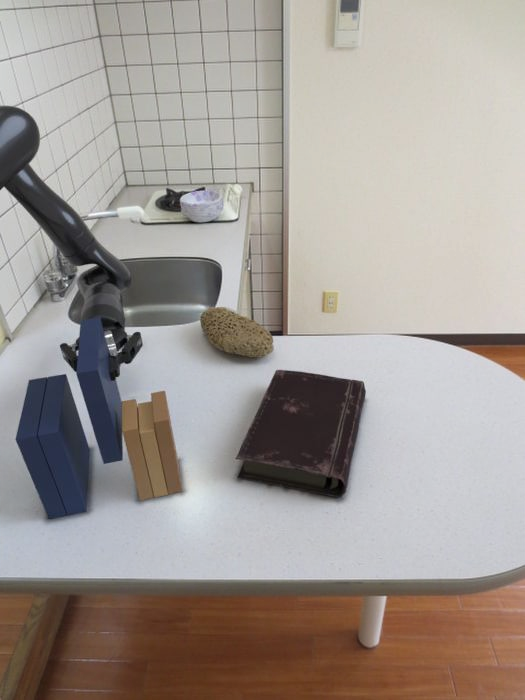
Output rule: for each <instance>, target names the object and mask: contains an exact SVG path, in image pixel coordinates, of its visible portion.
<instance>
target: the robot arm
mask: <svg viewBox="0 0 525 700" xmlns="http://www.w3.org/2000/svg"><path fill="white" fill-rule="evenodd" d="M40 145H41V133H40V129H39V125H38V124H37V121H36V120H35V119H34V117H33V116H32V115H31V114H30V113H29V112H27V111H26V110H24V109H22V108H20V107H18V106H13V105H1V104H0V191H1V190H3V188H5V190H6V191H7V192H8V193H9V194H10V195H11V196H12V197H13V198H14V199H15V200H16V201H17V202H18V203H19V204H20V205H21V207H22V208H24V210H25V211H26V212H27V213H28V214H29V215H30V216H31V218H32V219H34V221H35V222H36V223H37V225H39V227H40V229H42V231H43V232H44V233H45V234H46V236H47V238H48V239H49V240H50V241H51V242H52V243H53V245H54V246H55V247H56V249H57V250H58V251H59V253H60V254H61V255H62V257H63V258H64V259H65V260H66V262H67V263H68V264H69V265H71V266H73V267H83V266H87V265H93V266H91V267H90V268H88V269H86V270H84V271H83V272H81V273H80V274H79V276H78V277H77V279H76V285H77V288H78V291H79V293H80V294H81V295H82V298H83V307H82V309H81V315H80V321H81V320H84V319H91V318H98V317H100V318H101V322H102V326H103V330H104V334H105V338H106V342H107V346H108V350H109V354H110V357H109V374H110V378H111V381H115V380H116V381H117V378H119V377H120V376H121V366H122V364H125V365H129V364H131V363H133V361H134V359H135V358H136V356H137V355H138V353H139V352H140V351H141V349H142V347H143V346H144V344H143V339H142V333H141V332H140V331H135V332H133V333H132V334H128V333H127V332H126V326H125V325H126V318H125V312H124V311H125V310H124V304H123V303H124V302H123V301H124V300H123V294H122V293H123V292H125V291H127V290H129V288H130V287H131V284H132V275H131V272H130V270H129V268H128V267H127V266H126V264H125V263H123V262H122V260H120V259H119V258H118V257H117V256H116V255H114V254H113V253H111V252H110V251H109V250H108V249H106V248H105V247H104V246H103V245H102V244H101V243H100V242H99V241H98V240H97V238H96V237H95V235H94V234H93V232H92V231H91V229H90V228H89V227H88V225H87V224H86V221H84V219H83V218H82V217H81V216H80V214H79V213H78V212H77V211H76V210H75V209H74V208H73V206H71V205H70V203H68V202H67V201H66V200H65V199H63V198H62V197H61V195H59V194H58V193H56V192H55V191H54V190H53V189H52V188H51V187H50V186H49V185H48V184H47V183H46V182H45V181H44V180H43V179H42V178H41V177H40V176H39V175H38V174H37V172H36V171H35V170H34V169H33V167H32V165H31V164H30V163H31V162H32V161H33V160H34V159H35V157H36V156H37V154H38V152H39V149H40ZM79 324H80V325H79V331H80V330H81V322H80V323H79ZM78 333H79V334H78V337H77V338H76V339H75V343H72V344H70V345H69V344H68V343H66V342H63V343H61V344H60V345H59V348H60V351H61V356H62V359H63V360H64V361H65V362H66V363H67V364H68V366H69V367H70V368H71V369H72V371H73V372H75V373H76V370H77V360H78V350H79V340H80V332H78Z"/></svg>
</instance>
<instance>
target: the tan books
mask: <svg viewBox="0 0 525 700" xmlns="http://www.w3.org/2000/svg"><path fill="white" fill-rule="evenodd" d="M150 399H151V400H149V401H143V402H138V401H137V399H136V398H132V399H126V400H121V402H122V438H123V441H124V444H125V448H126V452H127V456H128V459H129V463H130V467H131V471H132V475H133V479H134V483H135V487H136V491H137V494H138V499H139V501H145V500H149V499H153V498H159V497H164V496H168V495H173V494H179V493H183V486H182V479H181V472H180V471H181V470H180V465H179V459H178V458H179V457H178V452H177V449H176V448H177V447H176V442H175V435H174V431H173V426H172V420H171V414H170V408H169V405H168V398H167V393H166V390H159V391H155V392H151V393H150Z"/></svg>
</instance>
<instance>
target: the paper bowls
mask: <svg viewBox="0 0 525 700" xmlns="http://www.w3.org/2000/svg"><path fill="white" fill-rule="evenodd" d="M223 198H224V196H223V194H222V193H220V192H219V191H215V190H208V189H207V190H205V189H204V190H196V191H191V192H188V193H185V194H183V195H182V196H180V198H179V205H180V211H181V214H182V215H183V216H186V217H187V219H189V221H191V222H194V223H200V224H201V223H209V222H212V221H214V220H216V219H217V218H218V216H219V214H220V213H222V212H223V211H224V209H225V208H224V206H225V205H224V199H223Z"/></svg>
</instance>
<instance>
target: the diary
mask: <svg viewBox="0 0 525 700" xmlns="http://www.w3.org/2000/svg"><path fill="white" fill-rule="evenodd" d="M366 394H367V390H366V385H365V381H363V380H357V379H352V378H351V379H350V378H342V377H337V376H331V375H326V374H319V373H313V372H306V371H298V370H286V369H276V370H275V371H274V373H273V376H272V377H271V380H270V382H269V385H268V386H267V389H266V391H265V394H264V396H263V397H262V401H261V402H260V405H259V407H258V409H257V411H256V413H255V415H254V417H253V419H252V421H251V423H250V426H249V428H248V430H247V432H246V434H245V436H244V439H243V440H242V443H241V445H240V447H239V450H238V452H237V454H236V457H235V460H239V461H243V463H242V465H241V468H240V469H239V472H238V474H237V478H238V479H242V480H243V479H244V480H248V481H253V482H259V483H264V484H269V485H273V486H278V487H283V488H284V487H285V488H289V489H294V490H300V491H304V492H309V493H313V494H318V495H325V496H327V495H328V496H330V497H335V498H340V499H341V498H342V497H343V496H344V495H345V493H347V488H348V483H349V477H350V472H351V465H352V460H353V457H354V452H355V447H356V443H357V438H358V434H359V428H360V424H361V423H360V422H361V416H362V413H363V407H364V403H365V400H366Z"/></svg>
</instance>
